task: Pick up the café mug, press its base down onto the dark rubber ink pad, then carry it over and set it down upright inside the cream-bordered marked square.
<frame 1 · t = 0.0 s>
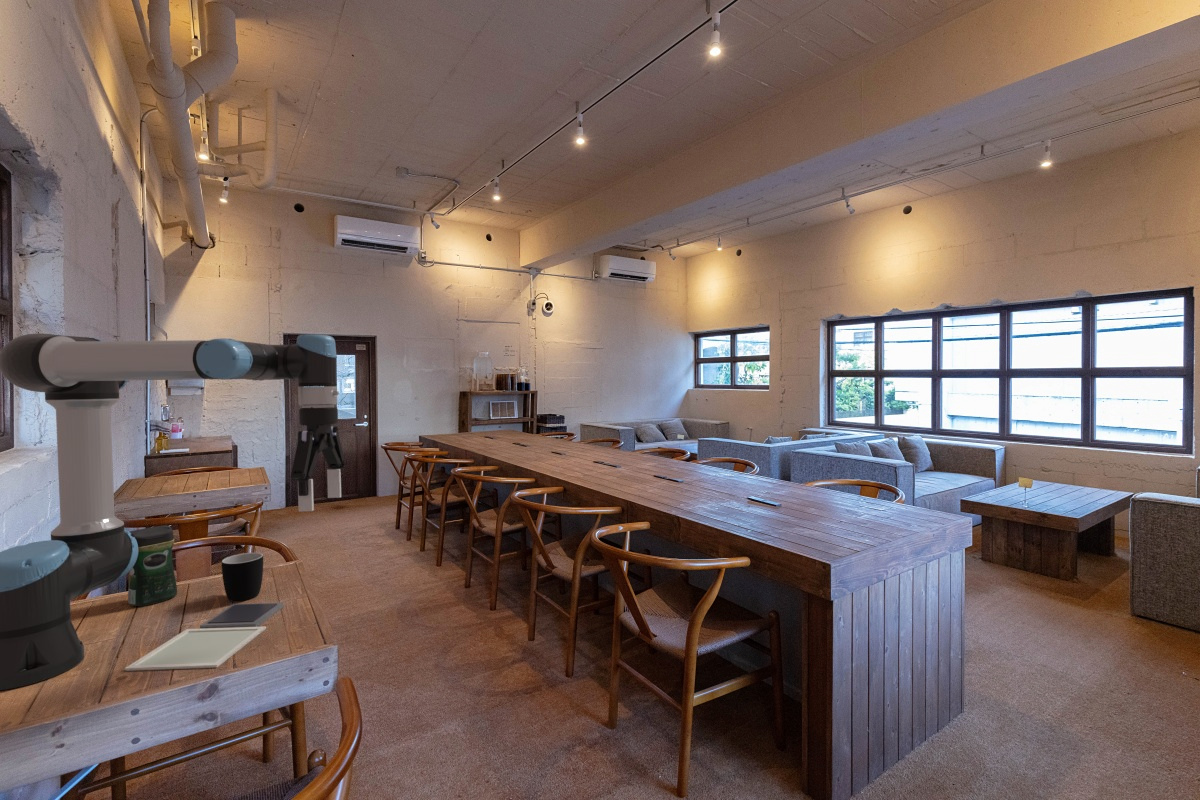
hand: (321, 504, 121), 28 cm above the table, fingers open, 13 cm apart
mug: (240, 596, 143), on the table
ink pad: (244, 617, 129), on the table
coffee jar: (152, 601, 141), on the table
marked square: (200, 648, 114), on the table
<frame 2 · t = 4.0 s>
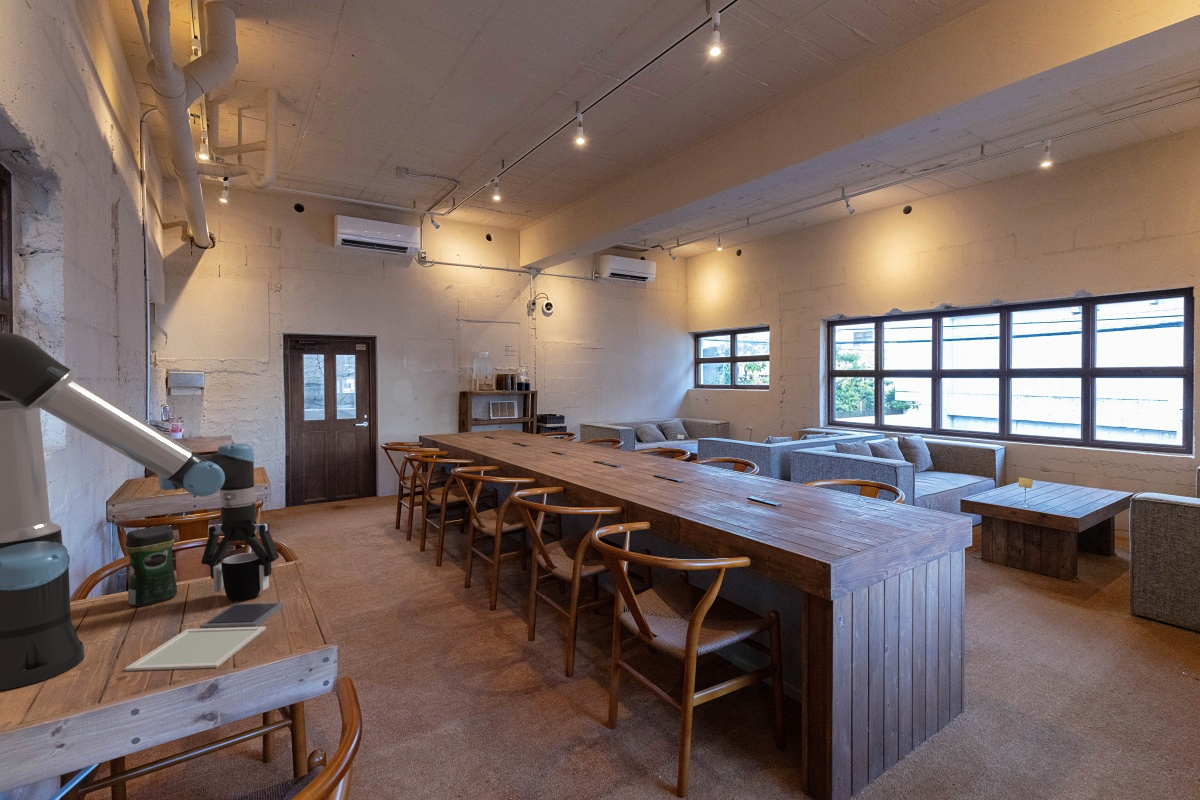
hand: (241, 589, 143), 2 cm above the table, fingers closed on mug, 11 cm apart
mug: (240, 596, 143), on the table, touching gripper
everything else where it was.
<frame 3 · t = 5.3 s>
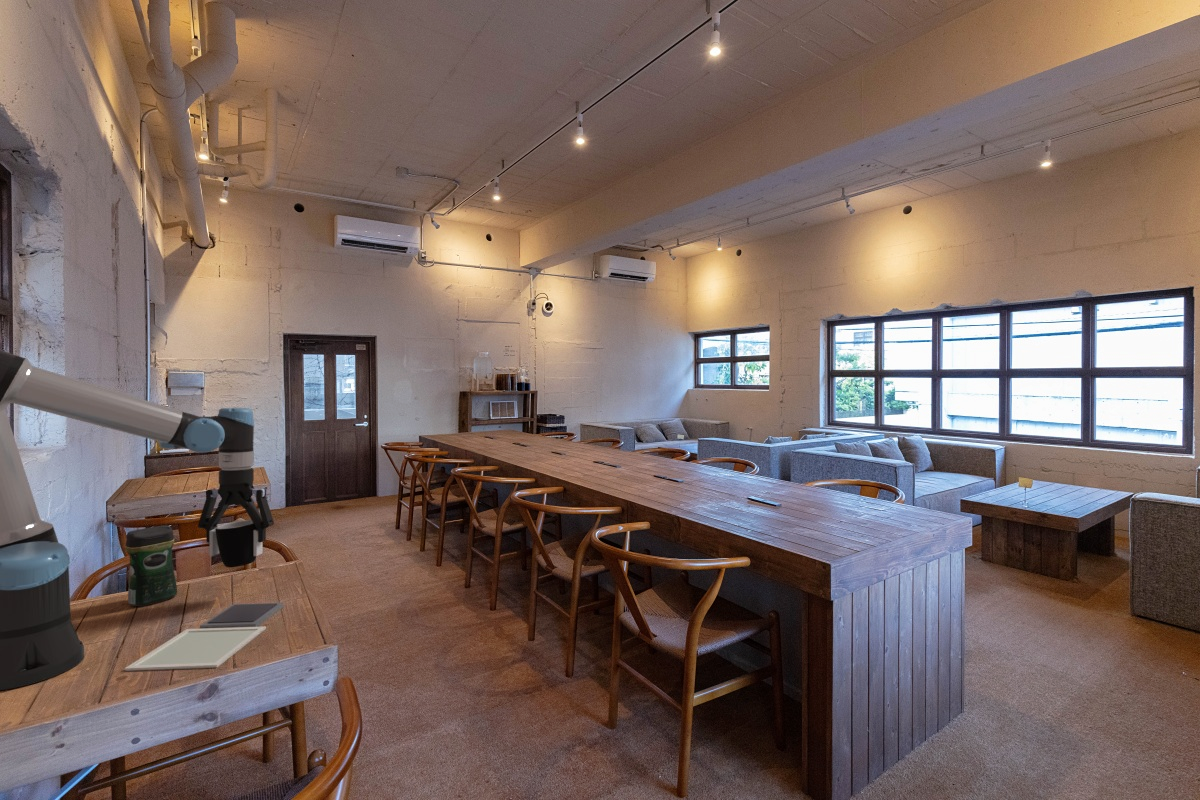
hand: (236, 554, 142), 11 cm above the table, fingers closed on mug, 10 cm apart
mug: (237, 563, 143), point 8 cm above the table, touching gripper
everything else where it was.
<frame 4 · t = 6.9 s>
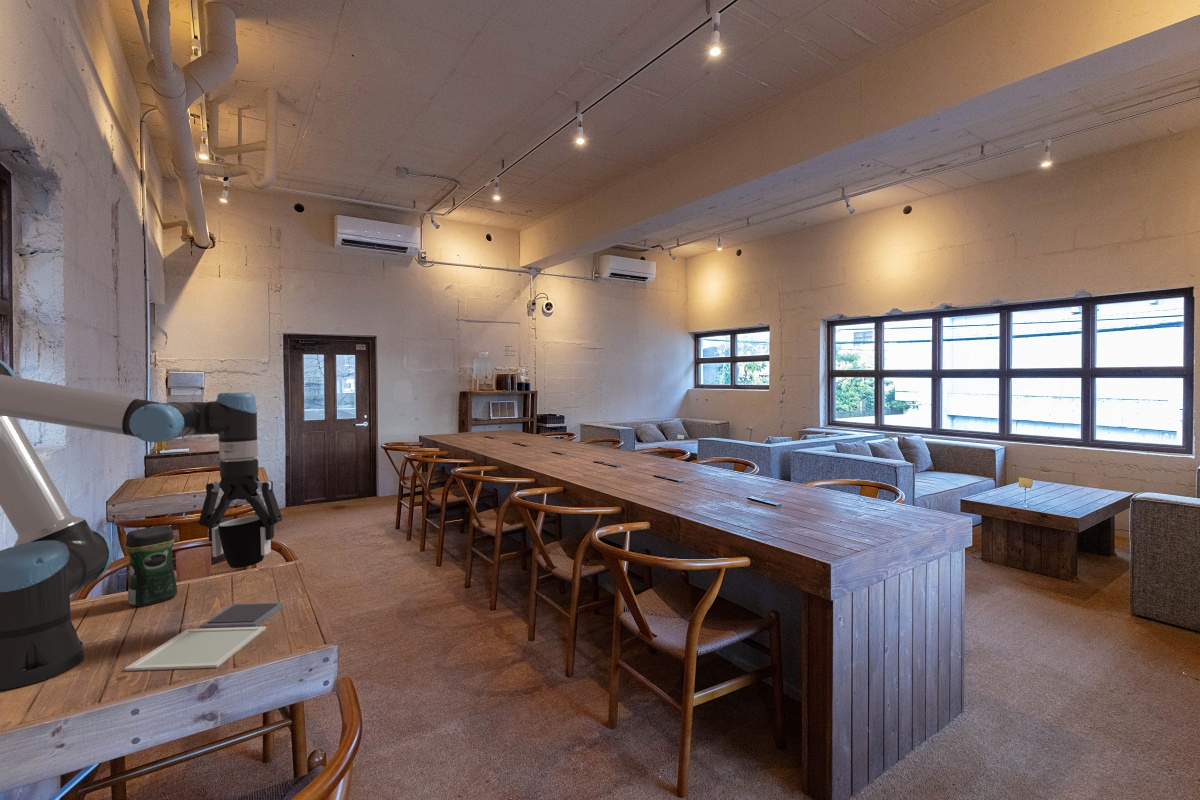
hand: (242, 554, 129), 15 cm above the table, fingers closed on mug, 10 cm apart
mug: (243, 564, 129), point 12 cm above the table, touching gripper
everything else where it was.
when the fingers open (3 cm above the table, at t = 8.8 s): mug stays where it is, resting on ink pad.
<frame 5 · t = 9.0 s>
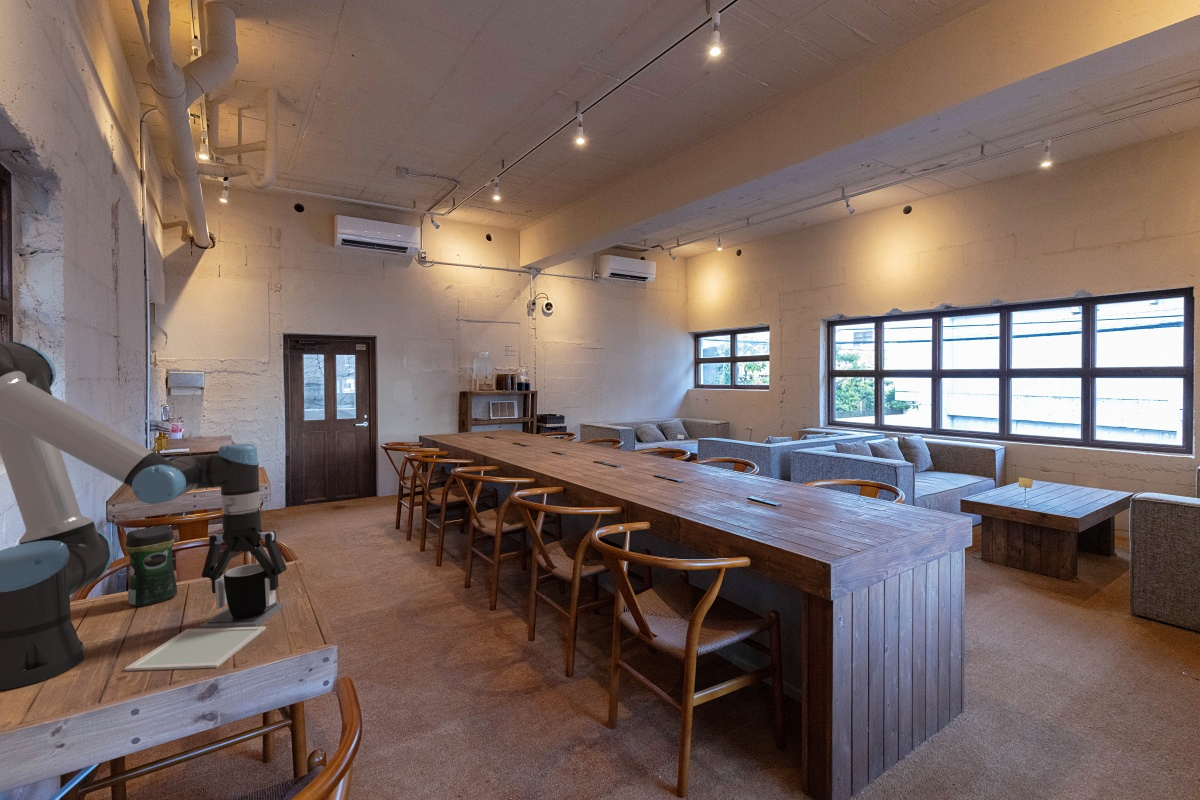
hand: (246, 605, 129), 3 cm above the table, fingers open, 10 cm apart
mug: (245, 612, 130), point 1 cm above the table, touching gripper, ink pad
everything else where it was.
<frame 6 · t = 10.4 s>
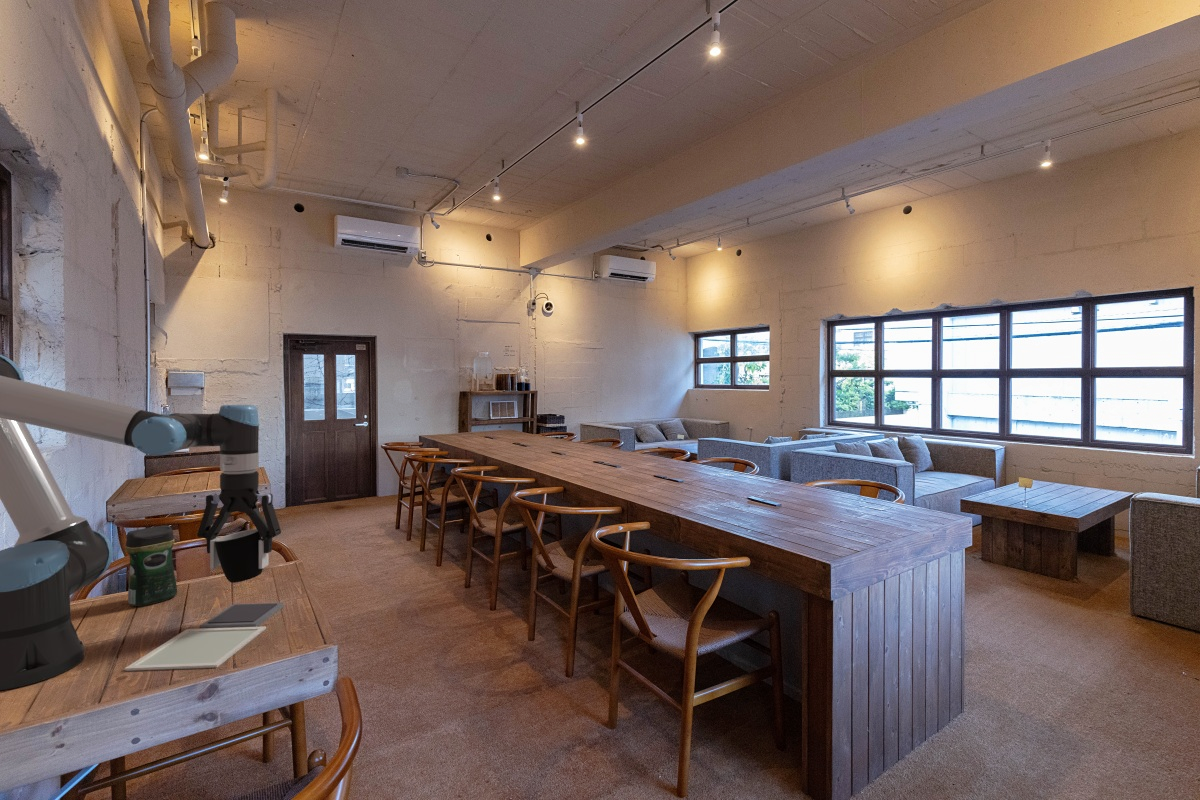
hand: (239, 566, 129), 12 cm above the table, fingers closed on mug, 10 cm apart
mug: (242, 578, 129), point 9 cm above the table, touching gripper
everything else where it was.
when the fingers open (3 cm above the table, at t = 14.4 s): mug stays where it is, resting on marked square.
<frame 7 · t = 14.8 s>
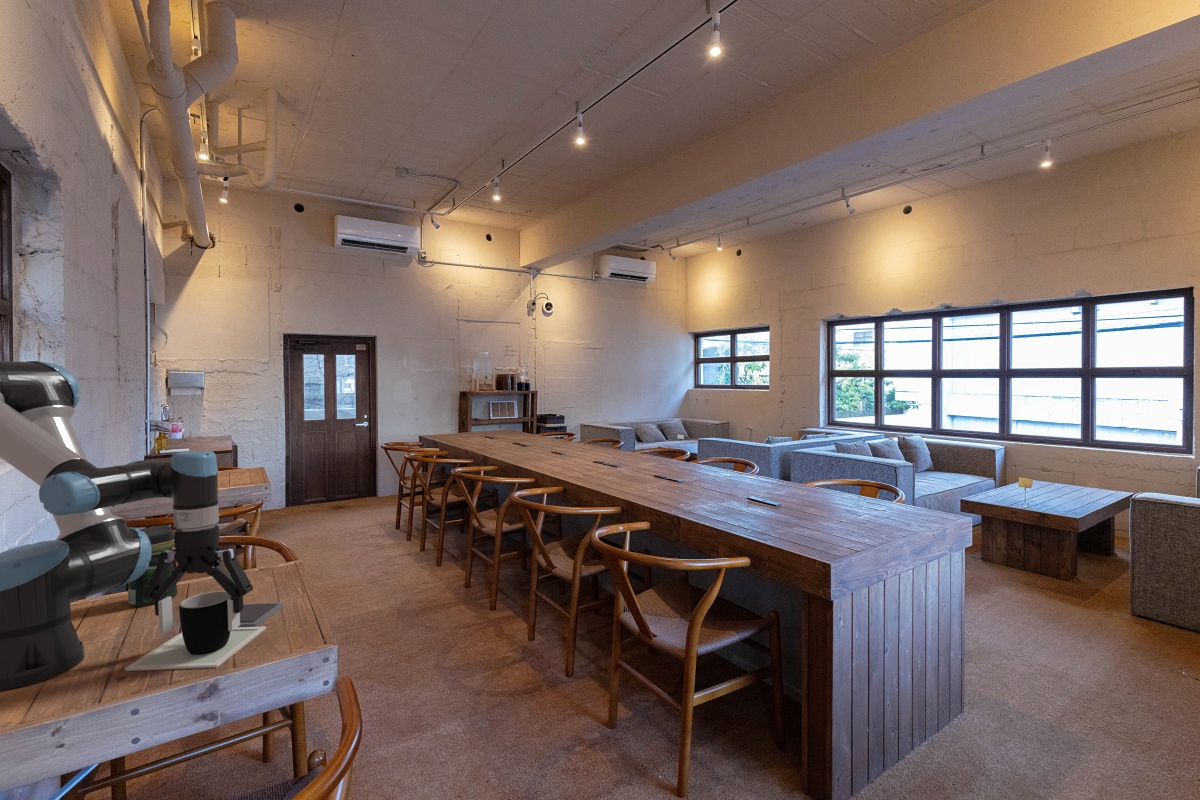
hand: (200, 629, 114), 4 cm above the table, fingers open, 13 cm apart
mug: (204, 647, 115), resting on marked square
everything else where it was.
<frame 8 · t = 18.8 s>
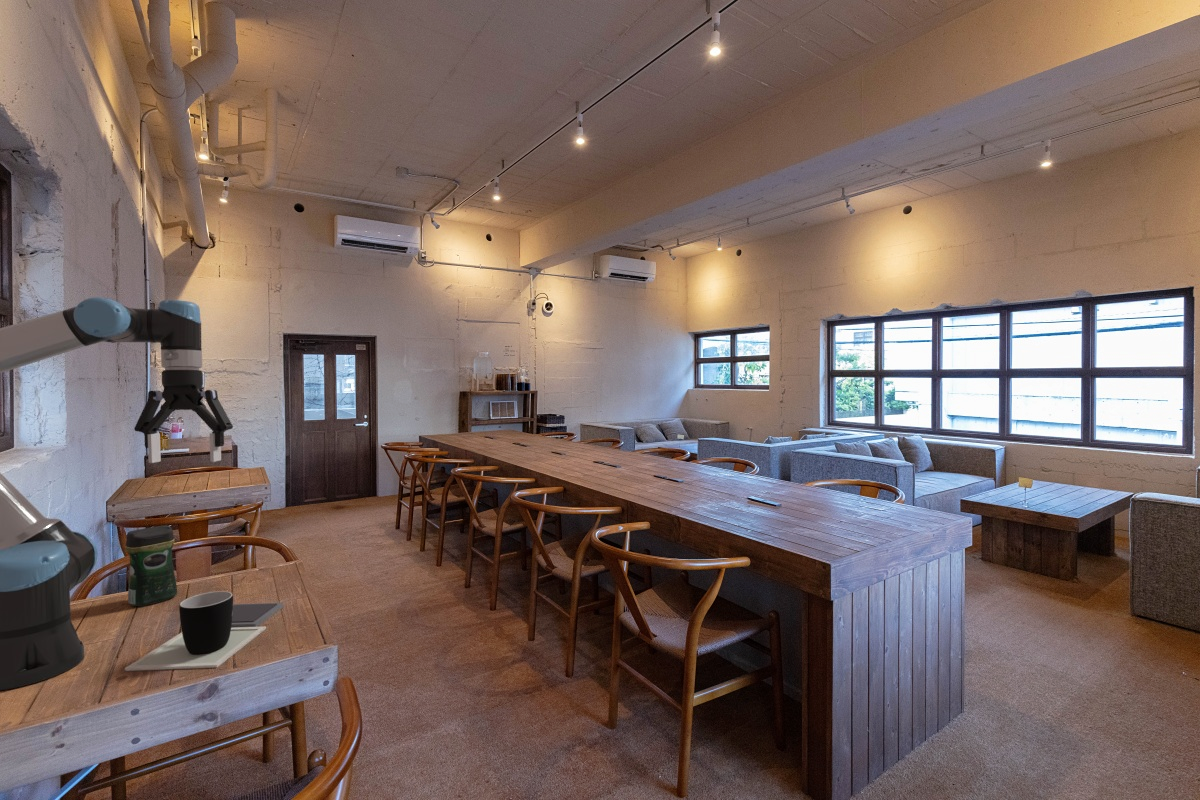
hand: (185, 461, 128), 37 cm above the table, fingers open, 13 cm apart
nothing on the table moved.
at the end: mug inside the target area on the marked square (0.6 cm from its centre), point 0.0 cm above the marked square's base; mug tilted 0°; the gripper is holding nothing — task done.
